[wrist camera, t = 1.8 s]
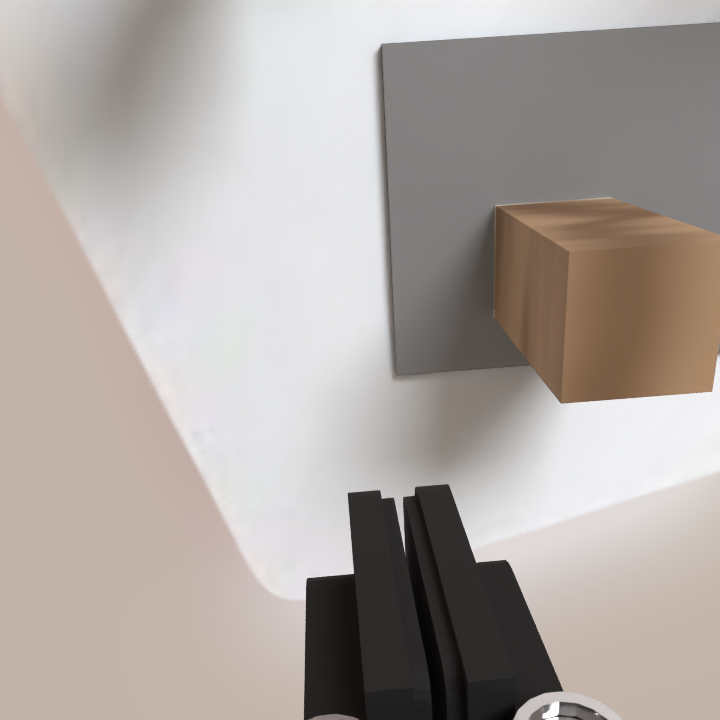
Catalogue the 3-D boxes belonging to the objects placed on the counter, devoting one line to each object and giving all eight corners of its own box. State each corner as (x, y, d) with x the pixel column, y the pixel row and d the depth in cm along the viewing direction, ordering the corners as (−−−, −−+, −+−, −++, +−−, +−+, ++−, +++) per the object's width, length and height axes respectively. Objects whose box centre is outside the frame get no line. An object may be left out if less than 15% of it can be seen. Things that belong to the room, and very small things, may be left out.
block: (610, 197, 29) (734, 239, 20) (602, 309, 30) (712, 391, 22) (494, 205, 28) (569, 251, 20) (493, 317, 30) (560, 403, 22)
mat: (877, 12, 27) (885, 11, 26) (811, 340, 32) (817, 343, 32) (381, 44, 26) (382, 43, 26) (395, 372, 31) (396, 375, 31)
